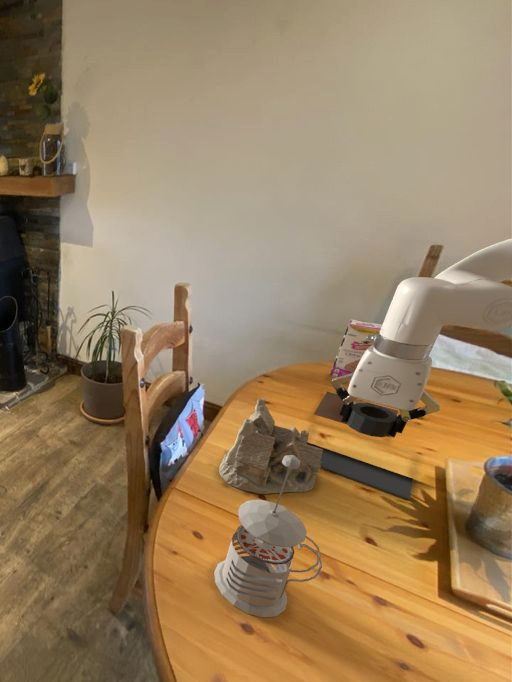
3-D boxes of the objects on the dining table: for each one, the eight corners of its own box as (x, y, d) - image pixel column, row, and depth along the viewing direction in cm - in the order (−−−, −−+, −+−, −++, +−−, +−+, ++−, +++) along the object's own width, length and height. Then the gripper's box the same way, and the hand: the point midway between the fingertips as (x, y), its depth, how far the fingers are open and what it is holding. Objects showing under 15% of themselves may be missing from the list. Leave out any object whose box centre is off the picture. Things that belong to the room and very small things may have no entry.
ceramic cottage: (207, 473, 85) (228, 412, 78) (240, 440, 94) (261, 384, 87) (293, 519, 75) (325, 454, 68) (320, 477, 84) (351, 417, 77)
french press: (217, 549, 69) (249, 426, 58) (300, 578, 64) (354, 449, 52) (210, 598, 62) (246, 468, 50) (304, 636, 56) (368, 500, 45)
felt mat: (418, 453, 87) (419, 452, 87) (408, 500, 76) (409, 499, 76) (315, 421, 99) (316, 420, 98) (294, 458, 88) (295, 456, 88)
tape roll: (393, 425, 84) (399, 411, 82) (387, 441, 80) (395, 426, 78) (349, 413, 88) (355, 399, 87) (342, 427, 84) (348, 413, 82)
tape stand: (396, 414, 99) (403, 399, 97) (388, 441, 91) (395, 426, 89) (325, 395, 108) (330, 381, 106) (312, 418, 100) (317, 403, 98)
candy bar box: (328, 379, 115) (347, 324, 108) (331, 372, 119) (349, 318, 111) (380, 391, 108) (404, 333, 101) (382, 383, 112) (405, 327, 104)
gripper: (339, 341, 79) (312, 418, 87) (470, 367, 68) (424, 453, 76) (347, 329, 84) (320, 403, 92) (471, 352, 72) (428, 435, 80)
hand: (368, 425), depth 84 cm, fingers closed on tape roll, 7 cm apart
